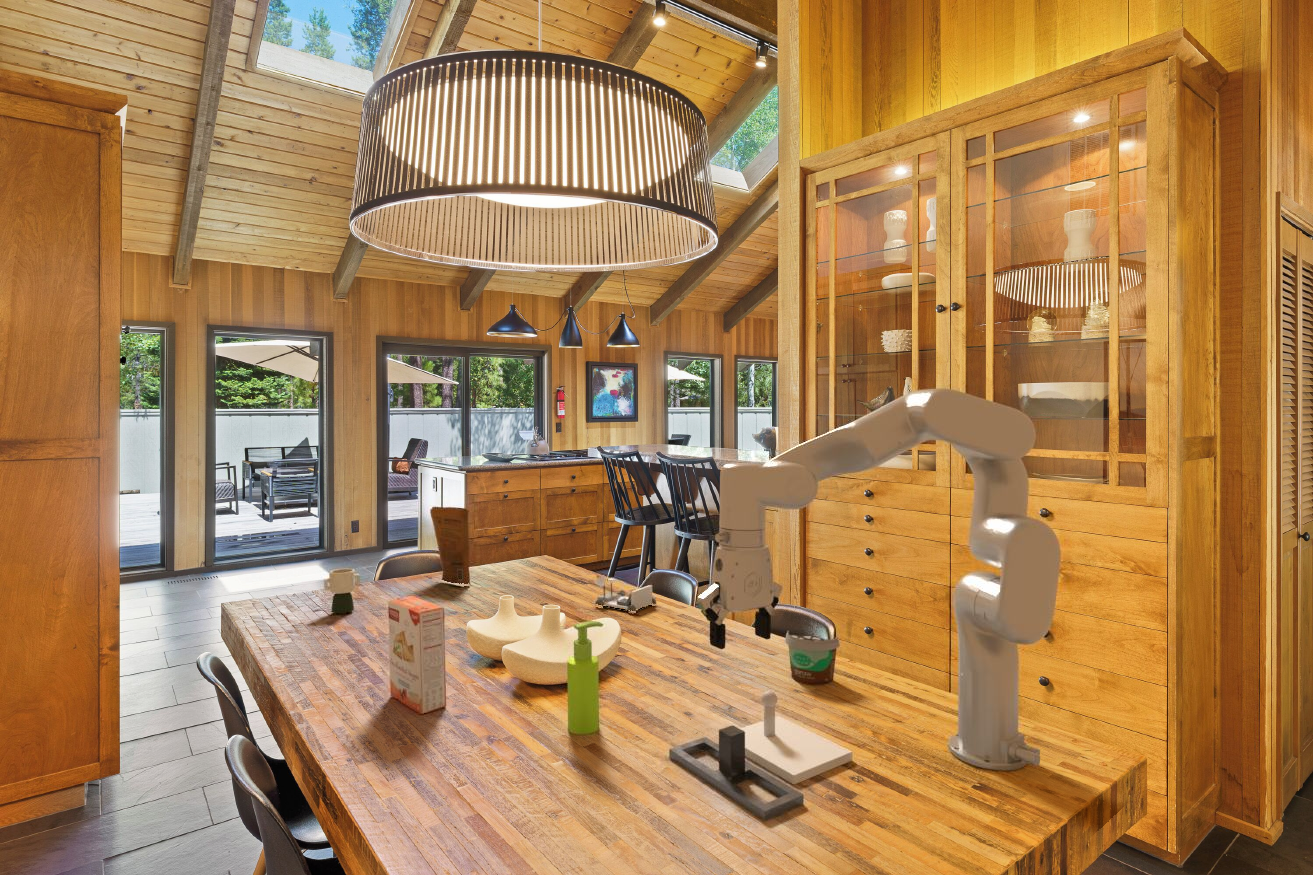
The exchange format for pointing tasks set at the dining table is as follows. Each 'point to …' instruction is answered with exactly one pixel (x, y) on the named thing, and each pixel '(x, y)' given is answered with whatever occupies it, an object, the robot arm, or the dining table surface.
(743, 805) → the grey frame with handle
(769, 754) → the white pegged base
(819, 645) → the food container
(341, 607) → the character mug
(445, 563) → the pancake mix bag
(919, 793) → the dining table surface
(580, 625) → the soap dispenser
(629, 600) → the grey tabletop ornament
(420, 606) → the cracker box
